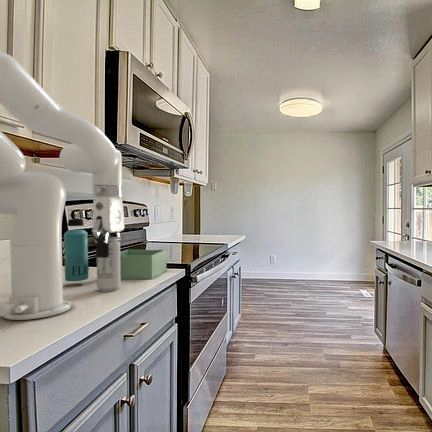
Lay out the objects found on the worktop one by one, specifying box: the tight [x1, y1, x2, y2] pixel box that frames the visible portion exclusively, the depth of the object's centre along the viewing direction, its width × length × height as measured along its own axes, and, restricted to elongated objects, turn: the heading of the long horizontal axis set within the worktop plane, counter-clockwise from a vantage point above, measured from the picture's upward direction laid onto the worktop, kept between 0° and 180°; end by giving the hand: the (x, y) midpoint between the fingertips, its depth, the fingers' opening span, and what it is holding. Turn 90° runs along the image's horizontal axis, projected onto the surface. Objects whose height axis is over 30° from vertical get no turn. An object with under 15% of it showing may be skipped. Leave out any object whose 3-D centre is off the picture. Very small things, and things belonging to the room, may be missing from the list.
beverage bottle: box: [63, 218, 90, 283], centre depth 108 cm, size 6×7×20 cm
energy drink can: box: [96, 236, 122, 293], centre depth 102 cm, size 6×6×15 cm
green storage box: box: [120, 249, 168, 280], centre depth 124 cm, size 15×14×8 cm
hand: (108, 254), depth 102 cm, fingers closed on energy drink can, 6 cm apart
